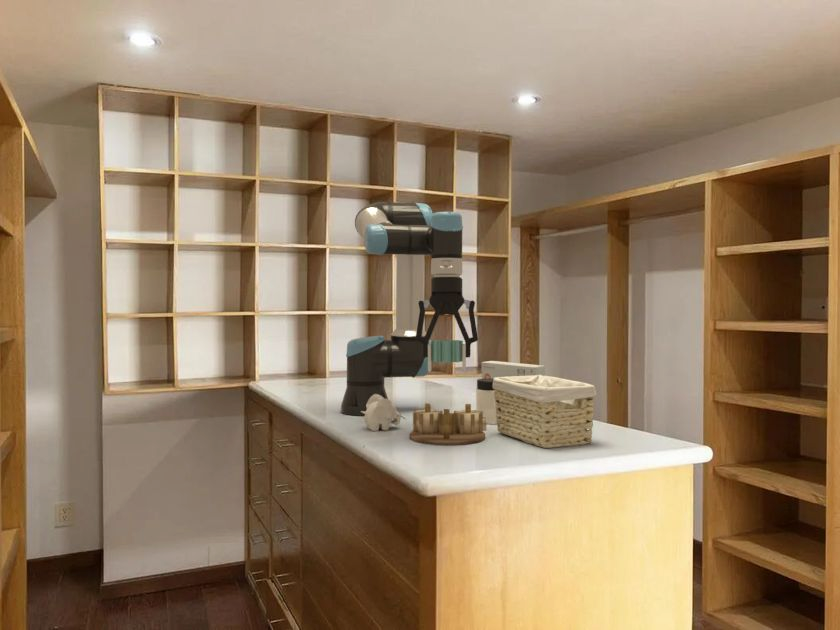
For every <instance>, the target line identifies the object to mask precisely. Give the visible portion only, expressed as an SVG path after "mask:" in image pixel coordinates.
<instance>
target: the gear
mask: <svg viewBox="0 0 840 630" xmlns="http://www.w3.org/2000/svg"><path fill="white" fill-rule="evenodd" d="M462 344H464V343H463V340H460V339H459V340H458V339H440V340H439V339H436V340H435V339H434V340H432V341H431V361H433V362H434V363H445V364H446V363H447V364H448V363H460V362H461V363H462ZM433 362H432V363H433Z"/></svg>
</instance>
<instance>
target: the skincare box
mask: <svg viewBox="0 0 840 630" xmlns="http://www.w3.org/2000/svg"><path fill="white" fill-rule="evenodd" d="M534 375H542V376H546V365H542V364H541V365H540V364H531V363H519V362H509V361H499V360H488V361H482V362H481V379H485V378H495V377H511V376H534Z"/></svg>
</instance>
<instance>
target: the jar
mask: <svg viewBox="0 0 840 630" xmlns="http://www.w3.org/2000/svg"><path fill="white" fill-rule="evenodd" d="M493 379H494V378H485V379H482V378H478V379H477V380H476V395H475V396H476V407H475V408H476V409H475V410H476V411H482V412H483V417H486V425H497V418H496V408H495V407H496V404H495V397H494V389H493Z"/></svg>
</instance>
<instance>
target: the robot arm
mask: <svg viewBox="0 0 840 630" xmlns="http://www.w3.org/2000/svg"><path fill="white" fill-rule="evenodd" d="M354 227H355V230H356V232H357V233H358V235H359V236H360V237H361V238H363V239H364V247H365V248H364V249H365V252H366V253H367V254H369V255H378V256H382V255H396V263H395V264H396V268H395V269H396V271H395V272H396V278H395V280H396V281H395V282H396V284H395V296H396V297H395V329H394V330H393V332H391V334H390V339H386V338H385V336H384V335H372V336H364V337H359V338H358V337H357V338H354V339H351V340H349V341H348V342H347V345H346V355H345V357H346V389H345V391H344V395H343V399H342V402H341V404H340V412H341V414H345V415H350V416H365V414H364V413H362V412H361V411H365V412H366V410H367V407H366V404H367V402H368V400H369V399H370V397H371V396H372V395H374V394H378V395H381V396H382V397H383V398H385V399H388V400H389V398H388V397H389V396H388V395H387V392H386V387H385V378H418V377H425V376H427V375H429V373H431V372H432V371H433V368H432V365H433V361H431V341H433V340H432V339H431V337H432V334H433V333H434V330H435V327H436V324H437V322H438V320H439V318H440V316H445V315H449V316H454V318H455V320H456V323H457V326H458V329H459V330H460V332H461V333H460V334H461V336H462V338H463V340H464V343H463V344H462V362H461V363H462V365H461V366H462V368H461V369H462V371H461V372H463V373H466V371H467V369H466V368H467V366H466V365H467V358H471V345H472V344H473V343H476V342H478V339H479V338H478V331H477V324H476V318H475V312H474V309H475V305H476V302H475V301H474V300H469V299H465V297H464V296H463V278H462V277H461V276H462V275H463V229H464V226H463V216H462V214H461V213H459V212H456V211H437V212H433V211H432V208H431V206H429V205H428V204H426V203H419V202H394V201H393V202H387V201H379V202H375V203H371V204H368V205H366V206H364V207H363V208H361V209H360V210H359V211H358V212H357V214H356V215H355V218H354ZM425 256H429V257H431V259H430V260H431V262H430V265H431V266H430V267H431V271H430V272H431V273H430V274H431V276H433V277H432V278H431V280H430V281H431V283H430V285H431V287H430V288H431V289H430V292H431V293H430V298H429V299H426V300H424V298H425V297H424V294H425V292H424V291H425V287H424V286H425V283H424V282H425V281H424V280H425V279H424V278H425ZM463 304H464V305H465V308H466V309H467V310H468V317H469V322H470V329H471V335H472V336H471V337H469V336H470V335H469V333H468V331H467V329H466V327H465V324H464V322H463V319H462V317H461V314H460V312H459V311H460V309H461V308H462V306H463ZM429 305H430V306H431V307H432V308H433V310H434V313H433V316H432V319H431V321H430V323H429V326H428V328H427V331H426V330H424V329H425V328H424V324H425V319H426V318H425V317H426V310H427V309H428V308H429Z"/></svg>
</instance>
